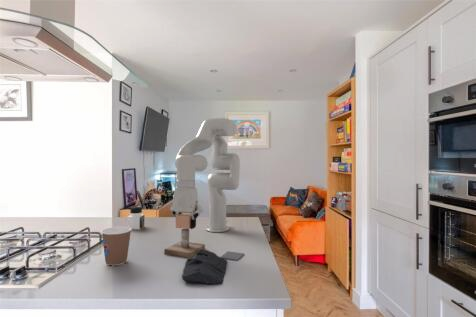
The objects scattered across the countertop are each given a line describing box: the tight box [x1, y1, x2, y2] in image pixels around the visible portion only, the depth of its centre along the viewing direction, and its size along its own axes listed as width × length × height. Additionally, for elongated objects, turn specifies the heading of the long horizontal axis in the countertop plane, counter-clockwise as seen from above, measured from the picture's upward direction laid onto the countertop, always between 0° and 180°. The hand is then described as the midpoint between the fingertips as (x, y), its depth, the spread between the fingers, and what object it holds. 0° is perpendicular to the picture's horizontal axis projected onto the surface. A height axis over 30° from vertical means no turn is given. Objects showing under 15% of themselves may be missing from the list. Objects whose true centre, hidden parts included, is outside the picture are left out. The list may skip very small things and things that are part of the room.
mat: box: [219, 250, 245, 262], centre depth 107 cm, size 8×7×1 cm
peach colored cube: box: [175, 212, 192, 230], centre depth 113 cm, size 6×6×5 cm
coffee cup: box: [100, 226, 133, 267], centre depth 100 cm, size 10×10×12 cm
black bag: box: [181, 249, 228, 286], centre depth 92 cm, size 15×22×5 cm
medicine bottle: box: [126, 205, 145, 231], centre depth 151 cm, size 7×7×12 cm
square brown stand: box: [163, 228, 206, 259], centre depth 112 cm, size 12×12×9 cm
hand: (186, 227), depth 113 cm, fingers closed on peach colored cube, 6 cm apart
